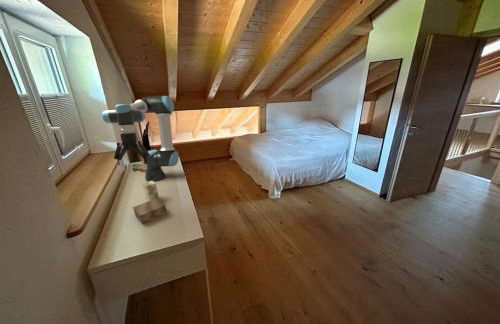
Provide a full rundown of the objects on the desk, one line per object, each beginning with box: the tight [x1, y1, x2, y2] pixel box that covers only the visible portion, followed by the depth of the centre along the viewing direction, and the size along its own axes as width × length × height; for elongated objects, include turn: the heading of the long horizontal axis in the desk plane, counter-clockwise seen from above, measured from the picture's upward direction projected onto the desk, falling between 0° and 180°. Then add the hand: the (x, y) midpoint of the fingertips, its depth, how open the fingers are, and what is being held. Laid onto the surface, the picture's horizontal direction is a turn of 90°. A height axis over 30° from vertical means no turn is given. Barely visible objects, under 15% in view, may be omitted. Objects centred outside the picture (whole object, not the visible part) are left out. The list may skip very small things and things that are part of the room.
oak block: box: [142, 181, 160, 202], centre depth 139 cm, size 6×6×12 cm
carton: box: [131, 164, 146, 173], centre depth 191 cm, size 8×16×4 cm, turn 74°
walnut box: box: [132, 198, 168, 225], centre depth 124 cm, size 14×12×6 cm
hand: (134, 170), depth 121 cm, fingers open, 13 cm apart
